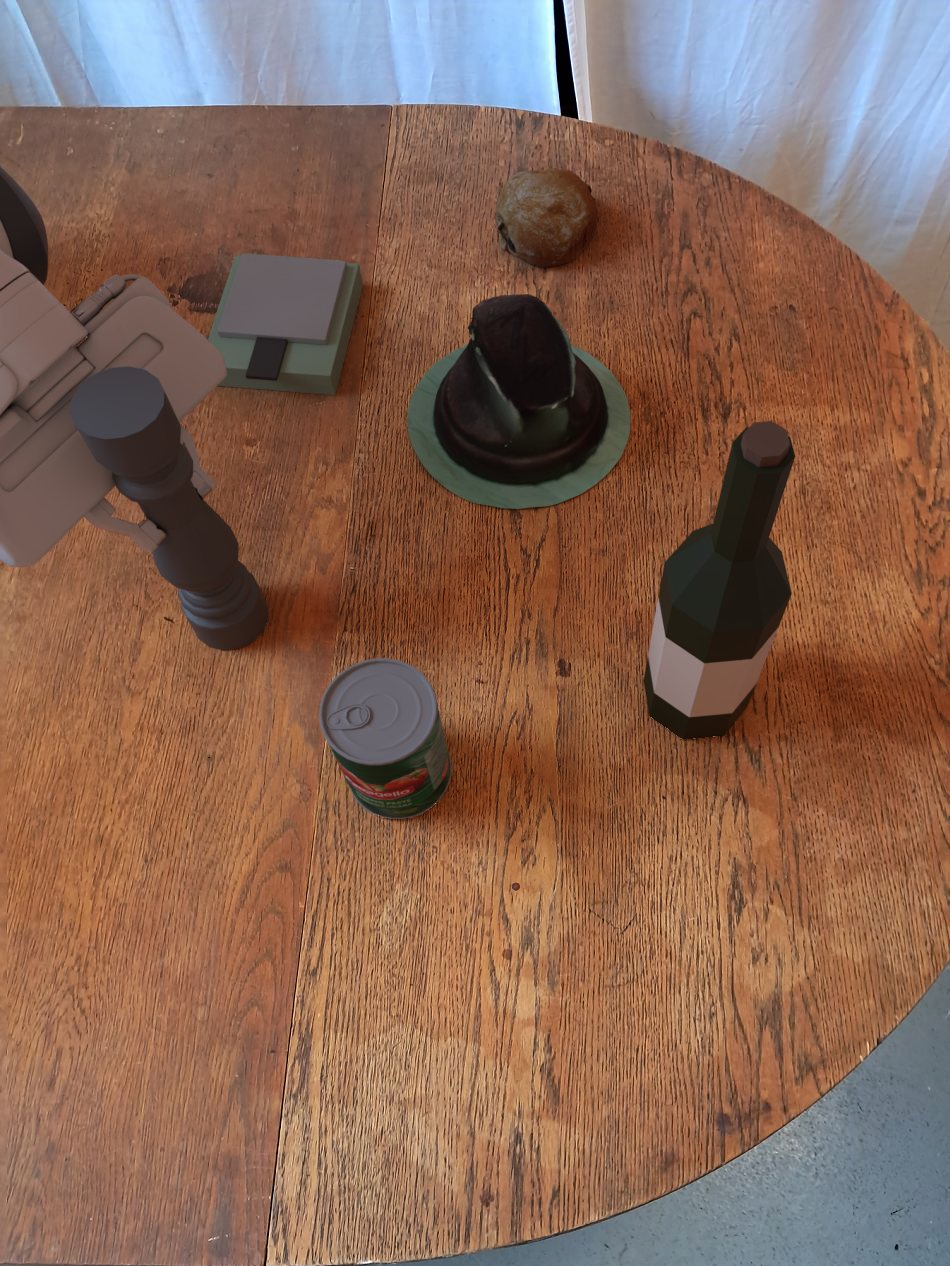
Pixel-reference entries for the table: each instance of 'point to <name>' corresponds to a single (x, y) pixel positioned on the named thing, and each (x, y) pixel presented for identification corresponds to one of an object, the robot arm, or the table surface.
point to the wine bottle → (722, 596)
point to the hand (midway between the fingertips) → (182, 519)
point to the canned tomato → (387, 737)
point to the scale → (286, 322)
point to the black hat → (518, 411)
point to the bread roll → (546, 216)
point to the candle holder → (170, 503)
